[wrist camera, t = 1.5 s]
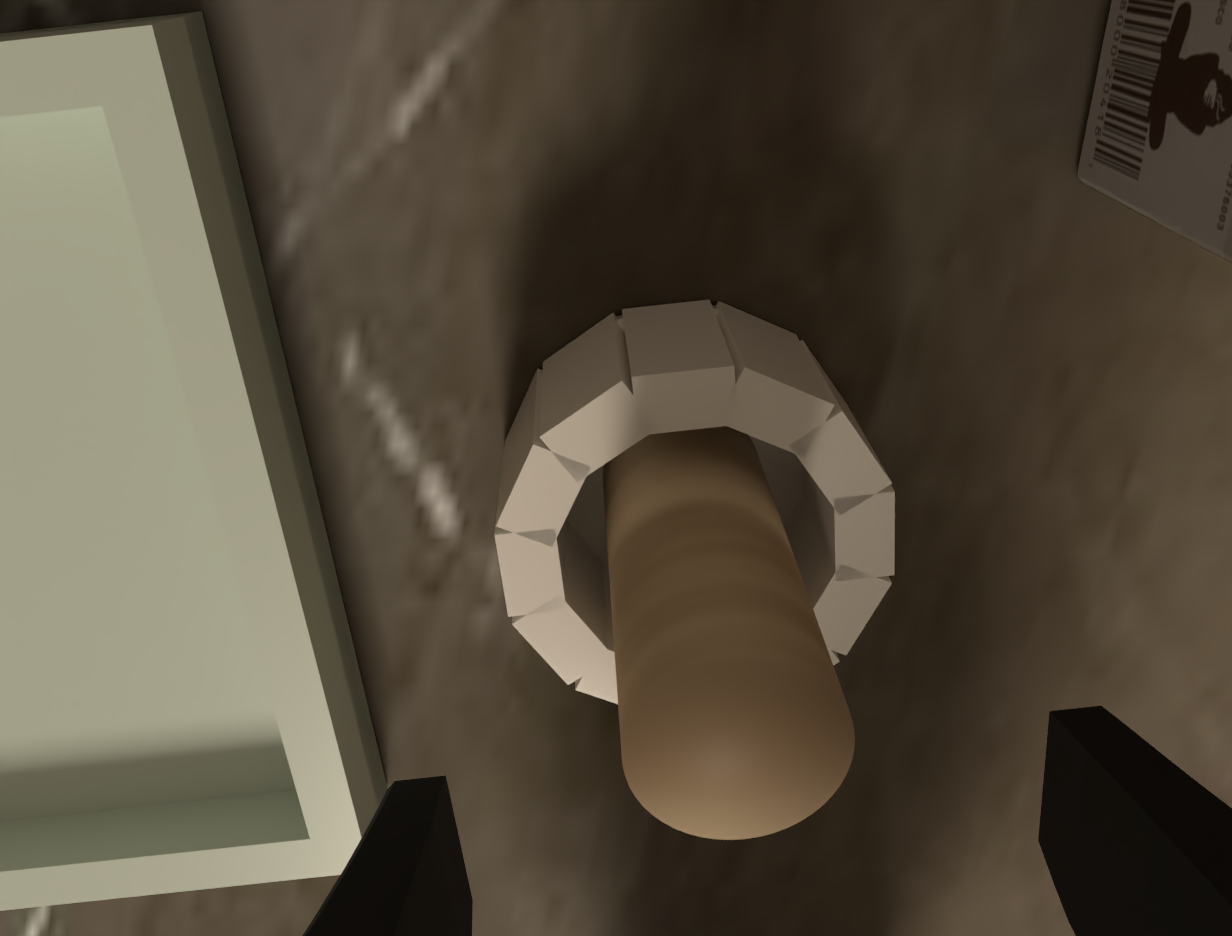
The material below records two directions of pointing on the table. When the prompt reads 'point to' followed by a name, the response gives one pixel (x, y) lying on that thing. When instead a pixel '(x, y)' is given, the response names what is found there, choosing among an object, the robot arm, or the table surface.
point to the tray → (155, 501)
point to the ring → (668, 402)
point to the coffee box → (1166, 117)
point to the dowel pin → (716, 643)
